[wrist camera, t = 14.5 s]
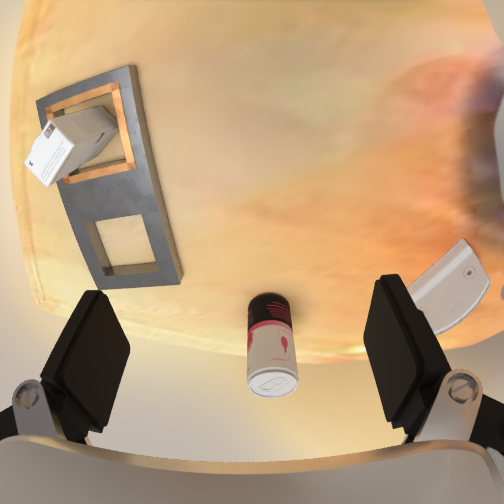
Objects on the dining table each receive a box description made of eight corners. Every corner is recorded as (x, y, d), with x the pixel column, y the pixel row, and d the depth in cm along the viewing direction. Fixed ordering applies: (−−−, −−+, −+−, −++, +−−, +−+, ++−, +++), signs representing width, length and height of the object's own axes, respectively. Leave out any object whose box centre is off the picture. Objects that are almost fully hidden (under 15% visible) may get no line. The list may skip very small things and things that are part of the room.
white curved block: (464, 236, 42) (499, 280, 35) (468, 246, 45) (500, 288, 38) (391, 300, 49) (419, 348, 42) (400, 305, 52) (426, 350, 45)
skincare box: (96, 157, 36) (47, 192, 26) (75, 136, 34) (21, 165, 24) (124, 124, 34) (76, 148, 24) (101, 101, 32) (47, 118, 22)
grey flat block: (46, 98, 31) (34, 101, 29) (135, 65, 30) (127, 65, 28) (103, 280, 47) (97, 290, 45) (183, 274, 46) (180, 285, 44)
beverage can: (239, 307, 50) (235, 386, 37) (269, 284, 47) (274, 364, 34) (267, 327, 52) (271, 403, 39) (297, 307, 50) (309, 385, 37)
